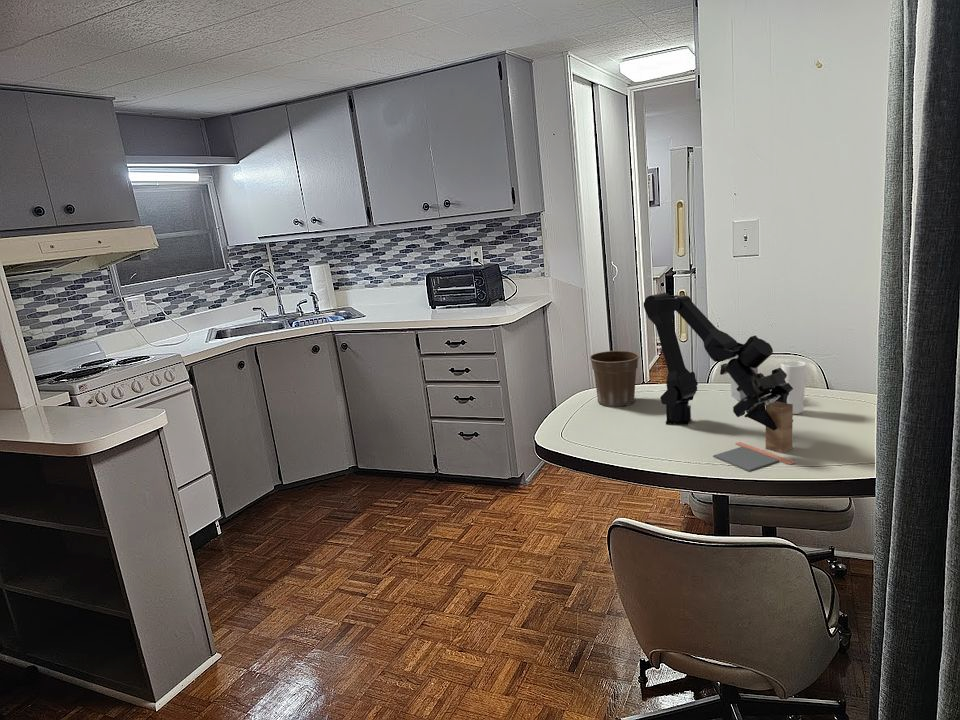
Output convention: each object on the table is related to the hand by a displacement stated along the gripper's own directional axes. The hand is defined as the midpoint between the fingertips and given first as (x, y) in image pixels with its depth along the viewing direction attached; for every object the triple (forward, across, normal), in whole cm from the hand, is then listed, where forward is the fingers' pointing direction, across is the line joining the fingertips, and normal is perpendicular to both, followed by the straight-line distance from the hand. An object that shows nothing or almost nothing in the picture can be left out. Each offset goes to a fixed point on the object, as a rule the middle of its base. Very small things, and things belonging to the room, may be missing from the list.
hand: (783, 425), depth 172 cm
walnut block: (+4, 0, +6) cm, 7 cm away
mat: (+2, -12, +7) cm, 14 cm away
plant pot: (-40, +2, +49) cm, 63 cm away
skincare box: (-19, +31, +29) cm, 46 cm away
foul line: (+3, -5, +6) cm, 9 cm away
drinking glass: (-6, +28, +15) cm, 32 cm away
